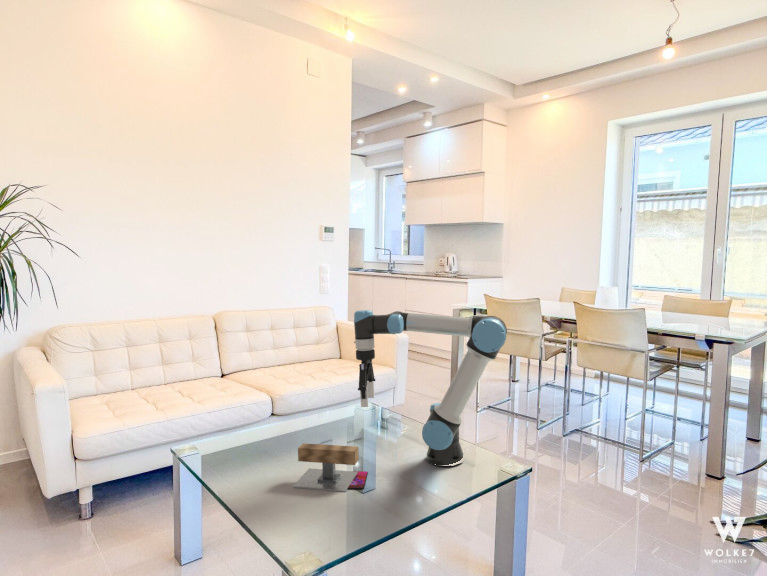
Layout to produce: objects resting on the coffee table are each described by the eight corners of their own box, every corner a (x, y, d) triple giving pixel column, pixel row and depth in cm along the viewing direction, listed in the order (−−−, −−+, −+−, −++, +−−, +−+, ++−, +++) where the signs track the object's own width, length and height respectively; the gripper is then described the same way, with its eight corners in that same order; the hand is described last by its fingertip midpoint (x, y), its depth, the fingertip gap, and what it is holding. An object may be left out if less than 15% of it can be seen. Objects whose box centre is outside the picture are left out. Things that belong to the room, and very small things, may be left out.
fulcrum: (357, 473, 186) (357, 454, 186) (346, 492, 171) (345, 470, 170) (309, 469, 190) (308, 450, 190) (293, 487, 175) (292, 467, 175)
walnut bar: (298, 461, 180) (297, 448, 180) (303, 456, 185) (302, 443, 185) (355, 465, 175) (354, 451, 175) (358, 459, 180) (358, 446, 180)
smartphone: (368, 471, 187) (364, 488, 172) (368, 473, 187) (364, 490, 172) (348, 471, 188) (342, 487, 173) (348, 473, 188) (342, 490, 173)
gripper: (362, 344, 205) (364, 394, 205) (348, 354, 180) (351, 411, 181) (379, 344, 204) (382, 394, 204) (368, 354, 179) (371, 410, 179)
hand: (367, 402), depth 192 cm, fingers open, 13 cm apart
